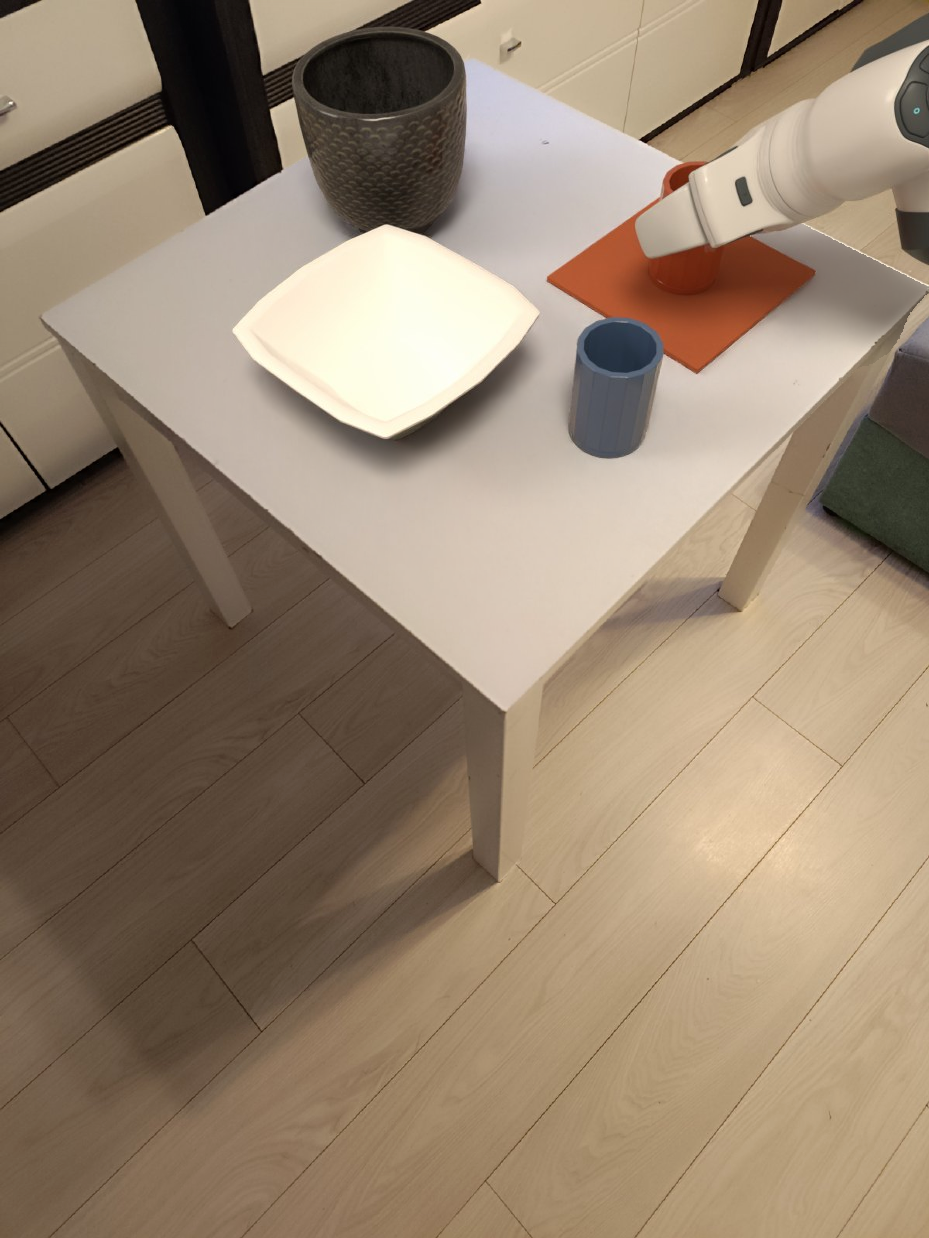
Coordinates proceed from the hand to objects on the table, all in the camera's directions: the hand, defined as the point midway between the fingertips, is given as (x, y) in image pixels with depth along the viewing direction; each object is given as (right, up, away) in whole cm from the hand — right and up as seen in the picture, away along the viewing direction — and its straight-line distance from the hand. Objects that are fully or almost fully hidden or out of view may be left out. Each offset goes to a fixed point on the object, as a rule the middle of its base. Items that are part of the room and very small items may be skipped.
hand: (688, 217), depth 85 cm
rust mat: (+1, -4, +6) cm, 7 cm away
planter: (-30, +6, +12) cm, 33 cm away
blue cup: (-9, -22, -5) cm, 24 cm away
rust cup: (+1, -3, +5) cm, 6 cm away
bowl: (-29, -18, -1) cm, 34 cm away
